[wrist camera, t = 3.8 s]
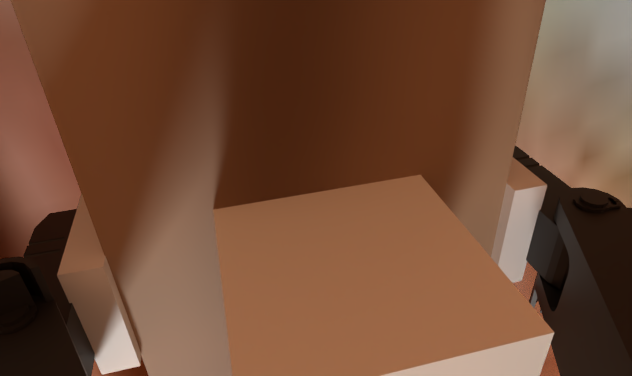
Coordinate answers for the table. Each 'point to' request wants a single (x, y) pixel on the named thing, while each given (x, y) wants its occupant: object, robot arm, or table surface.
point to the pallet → (267, 126)
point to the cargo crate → (369, 289)
